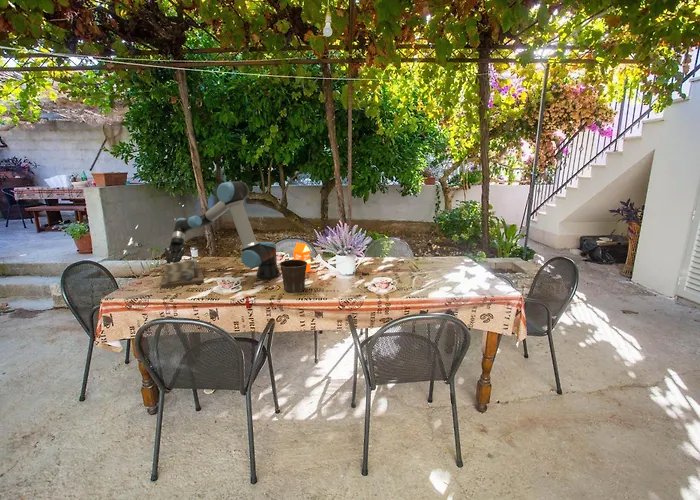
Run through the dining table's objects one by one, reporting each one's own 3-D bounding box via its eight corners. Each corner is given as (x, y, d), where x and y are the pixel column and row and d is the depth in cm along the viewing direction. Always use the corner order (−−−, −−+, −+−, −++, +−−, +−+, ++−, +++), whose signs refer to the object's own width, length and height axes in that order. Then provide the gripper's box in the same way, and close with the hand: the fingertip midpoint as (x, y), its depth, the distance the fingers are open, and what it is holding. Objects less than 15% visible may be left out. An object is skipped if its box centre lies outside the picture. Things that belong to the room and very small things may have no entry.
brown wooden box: (203, 283, 230) (201, 261, 227) (161, 288, 221) (158, 266, 218) (202, 271, 255) (200, 251, 252) (163, 275, 246) (161, 255, 243)
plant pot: (310, 292, 214) (309, 265, 210) (282, 295, 209) (281, 268, 206) (305, 283, 229) (304, 258, 225) (279, 286, 224) (278, 260, 221)
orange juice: (303, 273, 250) (302, 244, 245) (293, 271, 255) (292, 243, 250) (311, 270, 256) (310, 242, 251) (301, 268, 261) (300, 241, 256)
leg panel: (193, 276, 237) (191, 259, 234) (194, 276, 235) (193, 260, 233) (165, 282, 225) (163, 264, 222) (167, 282, 223) (164, 265, 221)
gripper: (189, 242, 242) (182, 275, 230) (169, 242, 241) (161, 275, 230) (186, 236, 236) (178, 269, 224) (165, 236, 235) (157, 269, 223)
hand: (170, 272), depth 227 cm, fingers closed
